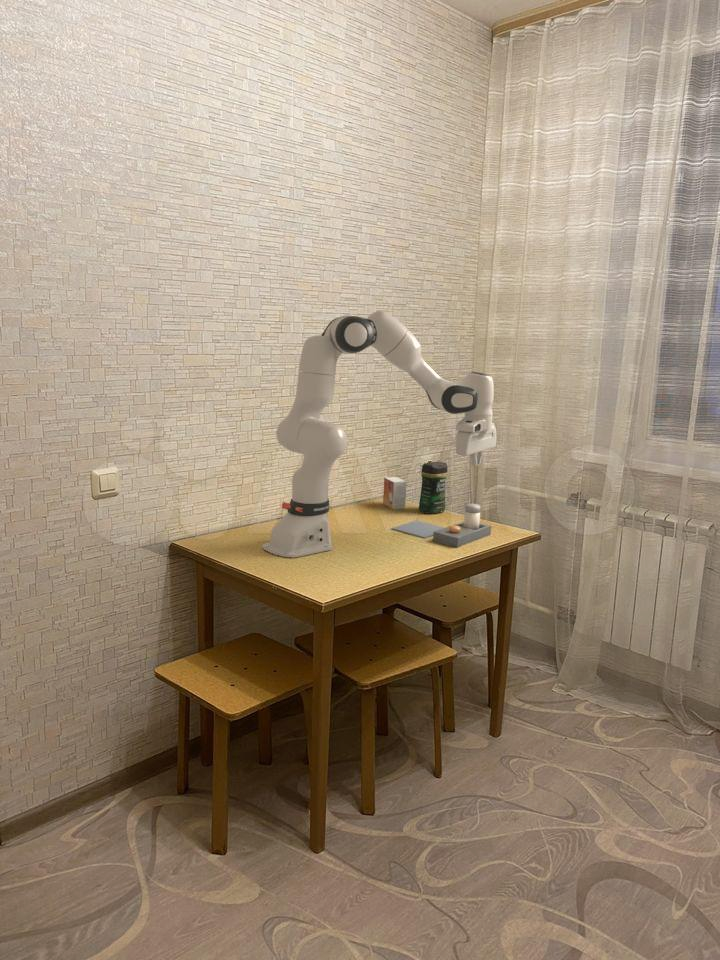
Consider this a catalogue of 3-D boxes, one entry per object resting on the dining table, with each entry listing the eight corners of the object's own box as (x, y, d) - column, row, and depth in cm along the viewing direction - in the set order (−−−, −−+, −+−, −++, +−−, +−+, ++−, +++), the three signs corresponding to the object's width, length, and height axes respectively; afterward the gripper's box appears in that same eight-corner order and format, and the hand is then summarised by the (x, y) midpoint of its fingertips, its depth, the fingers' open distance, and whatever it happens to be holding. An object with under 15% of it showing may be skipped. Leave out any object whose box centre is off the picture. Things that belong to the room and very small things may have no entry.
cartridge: (473, 537, 243) (475, 508, 241) (460, 534, 247) (462, 505, 244) (481, 534, 247) (483, 505, 245) (468, 531, 250) (470, 502, 248)
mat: (424, 538, 241) (424, 537, 241) (391, 529, 250) (391, 528, 250) (449, 529, 251) (449, 528, 251) (416, 521, 260) (416, 520, 260)
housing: (457, 547, 233) (458, 538, 232) (433, 540, 239) (433, 531, 238) (490, 534, 247) (491, 526, 247) (466, 528, 253) (467, 520, 253)
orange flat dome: (456, 533, 236) (456, 529, 236) (446, 531, 239) (447, 526, 238) (462, 531, 239) (462, 527, 239) (453, 528, 241) (453, 524, 241)
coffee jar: (431, 515, 268) (433, 465, 263) (415, 511, 273) (417, 461, 269) (449, 511, 274) (452, 462, 270) (433, 507, 280) (435, 458, 276)
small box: (382, 504, 281) (383, 477, 279) (395, 503, 284) (396, 476, 281) (392, 509, 274) (393, 482, 272) (405, 508, 277) (407, 481, 274)
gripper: (485, 418, 247) (483, 458, 250) (453, 425, 232) (451, 468, 235) (502, 420, 243) (500, 461, 247) (470, 428, 228) (468, 471, 231)
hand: (475, 465), depth 241 cm, fingers closed
